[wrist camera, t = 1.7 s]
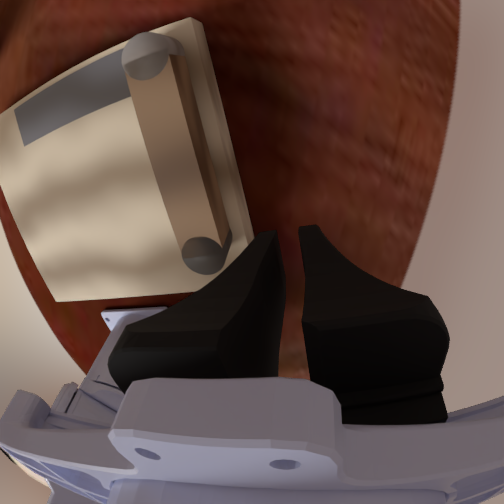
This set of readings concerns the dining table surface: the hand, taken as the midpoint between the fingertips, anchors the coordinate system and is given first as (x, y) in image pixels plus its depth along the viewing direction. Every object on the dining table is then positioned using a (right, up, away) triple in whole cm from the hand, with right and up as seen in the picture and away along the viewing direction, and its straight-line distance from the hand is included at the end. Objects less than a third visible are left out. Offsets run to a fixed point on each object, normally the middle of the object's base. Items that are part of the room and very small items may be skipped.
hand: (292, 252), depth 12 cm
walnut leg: (-5, +6, +6) cm, 10 cm away
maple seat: (-12, +5, +11) cm, 17 cm away
